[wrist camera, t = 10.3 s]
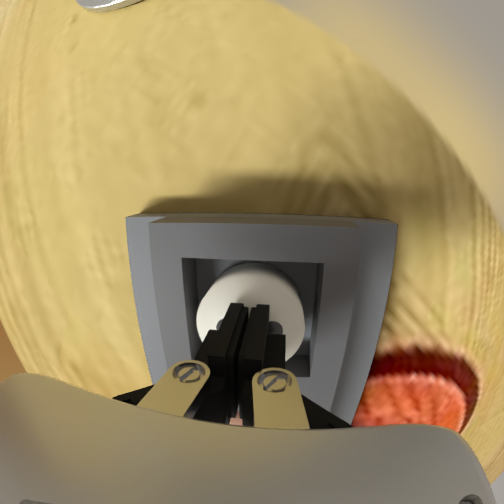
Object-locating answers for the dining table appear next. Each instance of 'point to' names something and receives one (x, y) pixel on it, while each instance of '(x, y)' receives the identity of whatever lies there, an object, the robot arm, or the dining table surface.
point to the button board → (289, 262)
